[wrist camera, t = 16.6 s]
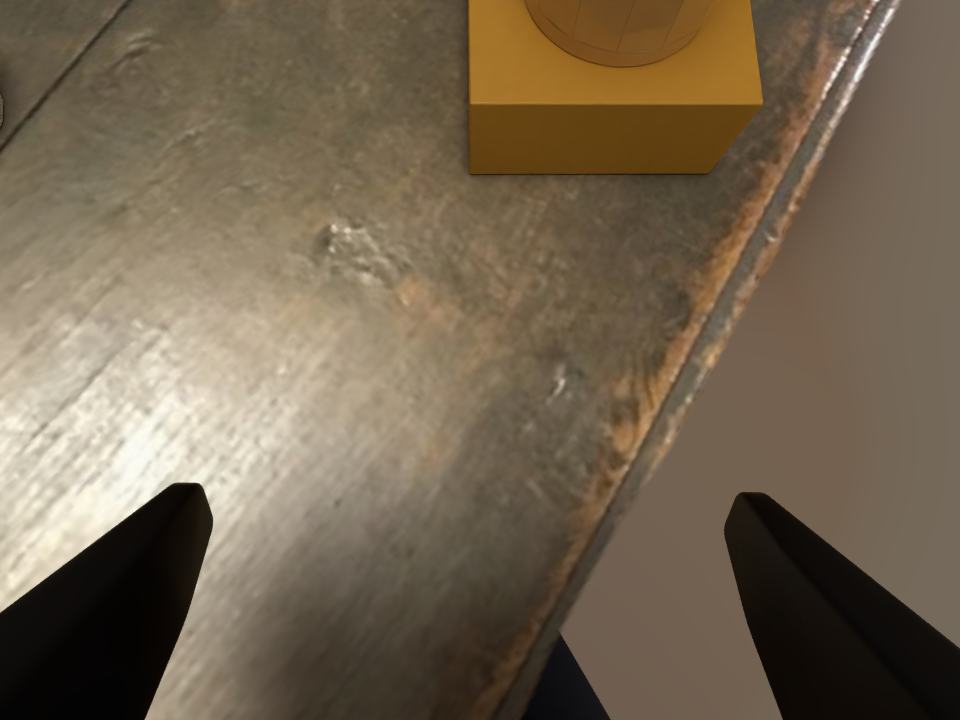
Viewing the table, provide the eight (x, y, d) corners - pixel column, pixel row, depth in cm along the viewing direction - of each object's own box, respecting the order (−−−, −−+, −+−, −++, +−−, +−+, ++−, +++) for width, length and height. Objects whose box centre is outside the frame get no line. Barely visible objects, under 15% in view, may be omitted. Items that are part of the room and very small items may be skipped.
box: (708, 174, 26) (764, 104, 21) (469, 175, 26) (469, 103, 21) (687, -27, 28) (733, -133, 23) (467, -29, 28) (467, -136, 23)
